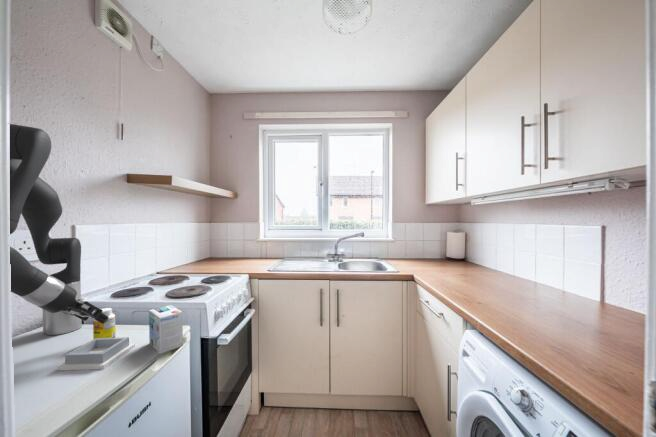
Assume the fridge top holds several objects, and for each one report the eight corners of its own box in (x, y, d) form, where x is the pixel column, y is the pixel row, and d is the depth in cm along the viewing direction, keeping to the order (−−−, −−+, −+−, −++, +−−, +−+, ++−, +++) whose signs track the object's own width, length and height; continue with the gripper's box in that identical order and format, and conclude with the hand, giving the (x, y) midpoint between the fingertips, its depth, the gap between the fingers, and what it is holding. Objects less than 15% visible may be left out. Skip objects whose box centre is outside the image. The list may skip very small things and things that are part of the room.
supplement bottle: (90, 342, 88) (89, 311, 88) (110, 335, 92) (110, 306, 92) (98, 346, 85) (97, 313, 85) (118, 339, 90) (118, 308, 90)
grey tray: (57, 370, 72) (57, 357, 72) (95, 348, 84) (94, 336, 84) (104, 368, 72) (103, 355, 72) (134, 346, 84) (134, 335, 84)
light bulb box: (148, 343, 86) (147, 309, 86) (171, 336, 91) (171, 304, 91) (159, 354, 79) (158, 317, 79) (184, 346, 84) (183, 311, 84)
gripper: (77, 283, 76) (120, 310, 87) (45, 280, 80) (91, 306, 91) (53, 308, 71) (103, 333, 82) (21, 303, 75) (72, 328, 86)
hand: (96, 319), depth 86 cm, fingers open, 8 cm apart
